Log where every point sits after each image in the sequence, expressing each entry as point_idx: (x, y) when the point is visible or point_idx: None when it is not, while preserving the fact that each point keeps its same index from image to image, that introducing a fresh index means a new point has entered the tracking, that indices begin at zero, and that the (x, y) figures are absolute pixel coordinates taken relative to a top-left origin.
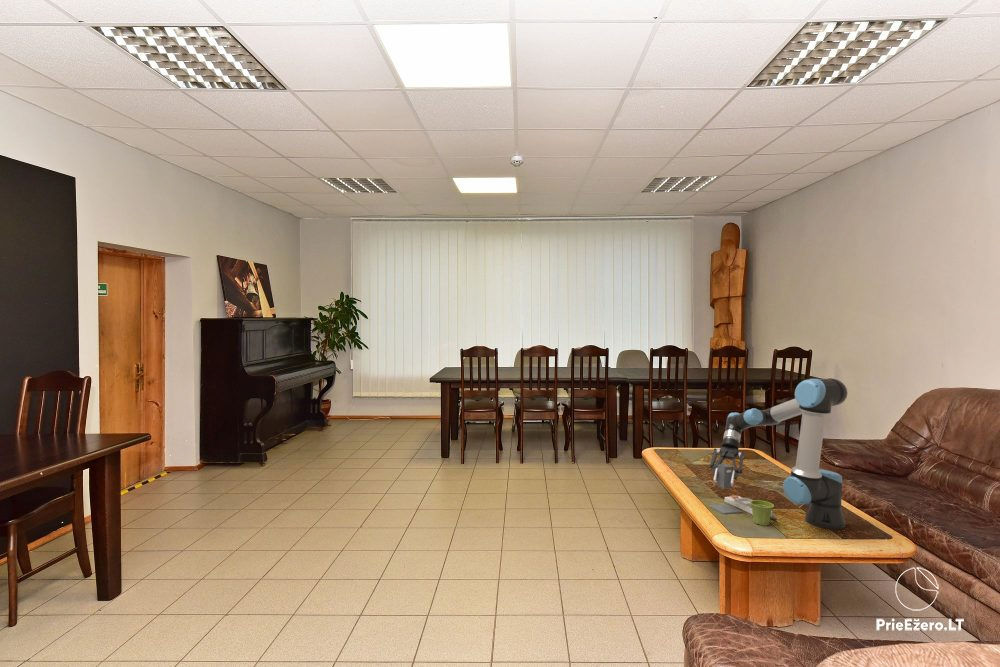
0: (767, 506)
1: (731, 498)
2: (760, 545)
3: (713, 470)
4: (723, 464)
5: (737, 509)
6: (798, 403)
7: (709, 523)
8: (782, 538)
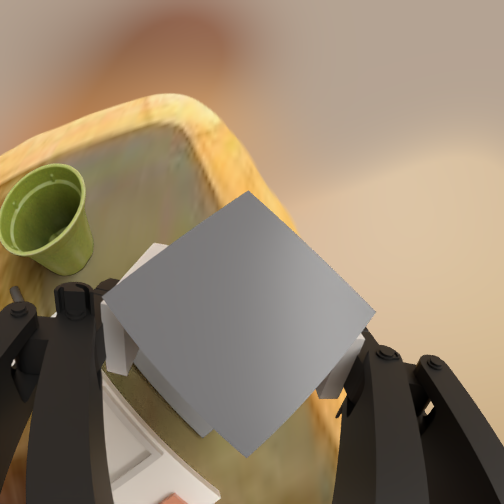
0: (16, 248)
1: (184, 492)
2: (125, 103)
3: (368, 334)
4: (290, 375)
5: (145, 372)
6: None
7: (251, 175)
8: (53, 156)
